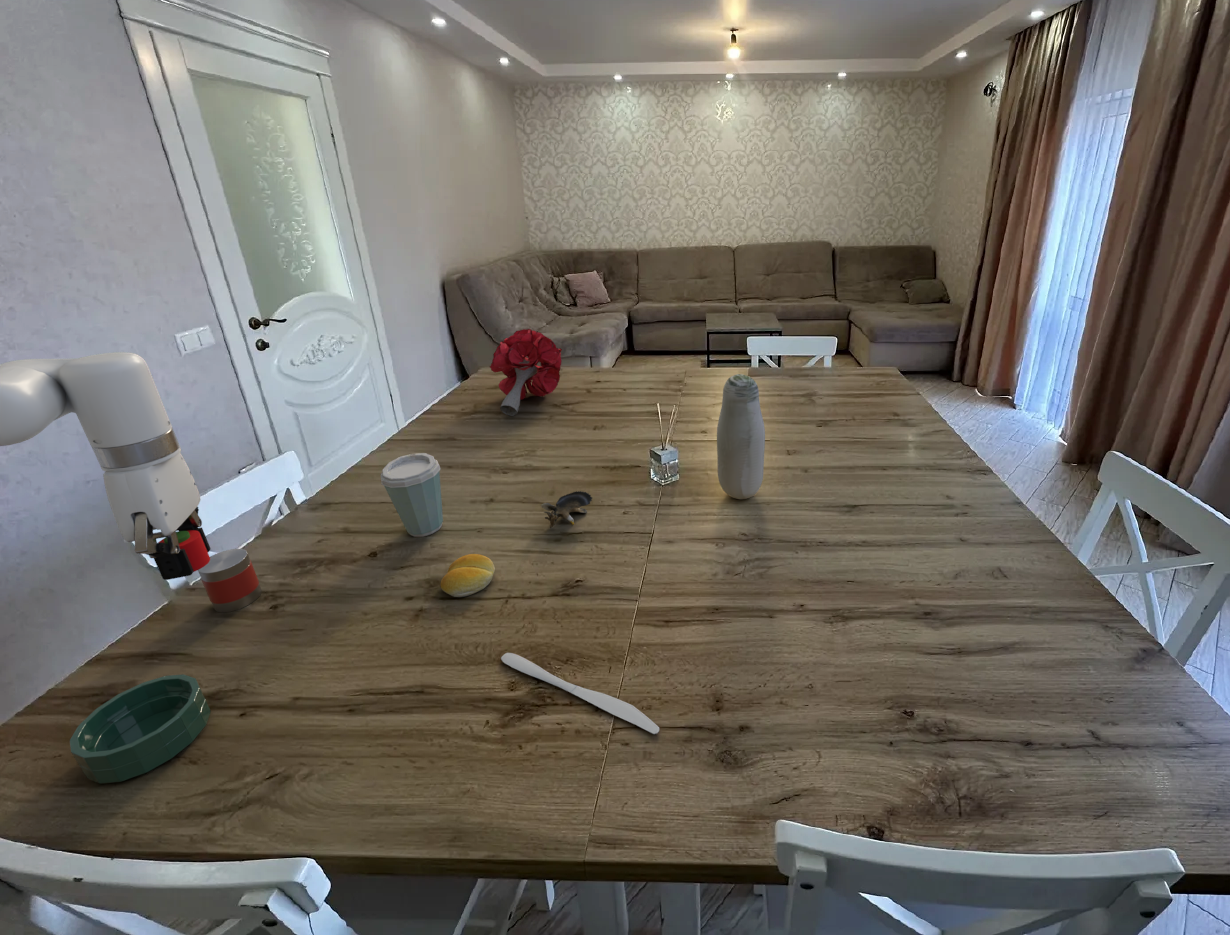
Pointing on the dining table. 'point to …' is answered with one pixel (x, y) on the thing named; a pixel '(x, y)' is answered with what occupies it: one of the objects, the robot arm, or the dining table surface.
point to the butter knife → (584, 693)
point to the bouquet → (526, 367)
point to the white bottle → (740, 438)
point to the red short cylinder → (192, 548)
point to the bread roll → (468, 575)
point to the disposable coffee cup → (415, 492)
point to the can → (230, 580)
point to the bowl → (140, 728)
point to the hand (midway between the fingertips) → (187, 563)
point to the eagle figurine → (567, 506)
